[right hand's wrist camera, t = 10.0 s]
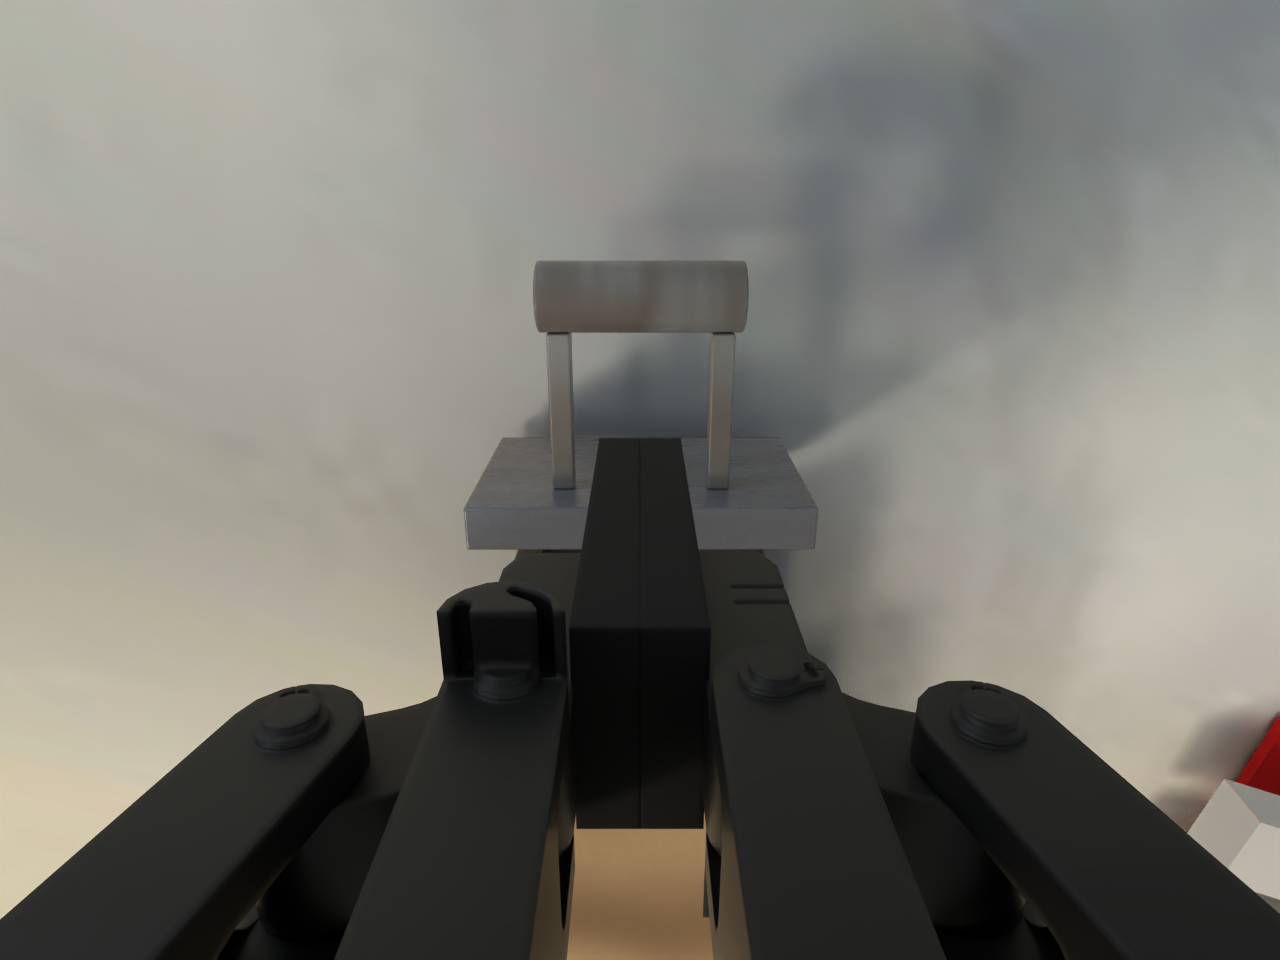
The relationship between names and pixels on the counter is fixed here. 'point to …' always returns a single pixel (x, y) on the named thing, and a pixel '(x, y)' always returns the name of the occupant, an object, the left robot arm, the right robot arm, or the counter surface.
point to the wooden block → (639, 895)
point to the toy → (1248, 821)
